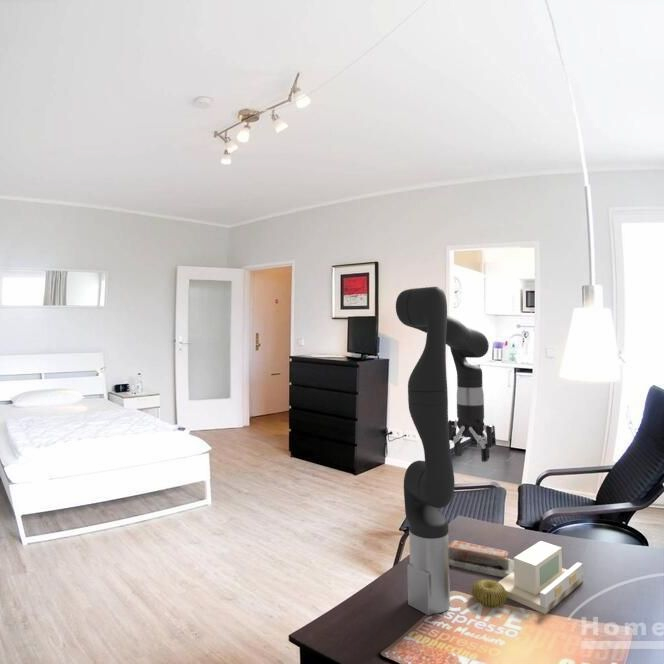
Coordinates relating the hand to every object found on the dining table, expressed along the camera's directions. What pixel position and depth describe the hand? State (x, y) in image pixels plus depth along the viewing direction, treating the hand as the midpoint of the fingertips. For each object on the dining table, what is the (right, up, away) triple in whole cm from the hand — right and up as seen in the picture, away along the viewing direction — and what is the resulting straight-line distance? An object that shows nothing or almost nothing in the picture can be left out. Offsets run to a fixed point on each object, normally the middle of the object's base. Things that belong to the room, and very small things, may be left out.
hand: (471, 458), depth 135 cm
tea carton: (+12, -26, -17) cm, 33 cm away
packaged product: (+1, -29, -4) cm, 29 cm away
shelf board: (+12, -28, -17) cm, 35 cm away
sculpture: (-3, -28, -23) cm, 36 cm away
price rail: (+16, -26, -21) cm, 37 cm away
